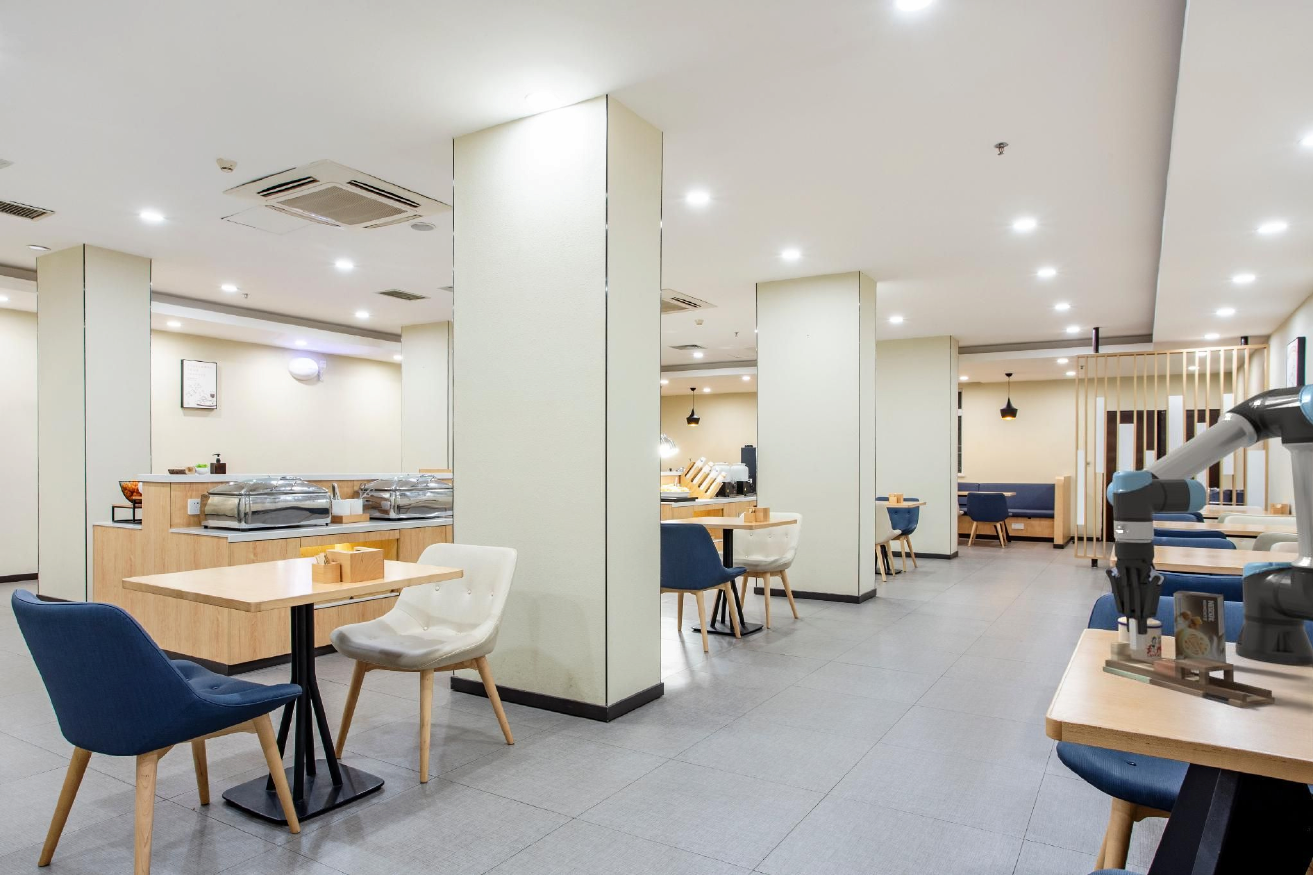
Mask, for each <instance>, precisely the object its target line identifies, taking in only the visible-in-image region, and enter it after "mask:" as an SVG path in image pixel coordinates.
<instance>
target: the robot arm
mask: <svg viewBox="0 0 1313 875" xmlns="http://www.w3.org/2000/svg"><path fill="white" fill-rule="evenodd" d="M1275 438H1276V439H1277V438H1281V439H1280V441H1281V446H1282V447H1284V448H1285V449H1286V450H1288V451H1289V452H1290V458H1291V459H1290V461H1291V471H1292V472H1291V473H1292V484H1293V485H1292V486H1293V497H1294V512H1295V524H1296V536H1297V548H1298V555H1297V558H1295V559H1293V561H1258V562H1256V561H1255V562H1254V561H1253V562H1247V563H1246V564H1244V565H1243V568H1242V577H1241V584H1242V585H1241V586H1242V606H1243V611H1242V612H1243V622H1242V626H1241V629H1240V632H1239V634H1238V636H1237V639H1236V641H1235V646H1234V647H1235V649H1234V650H1235V654H1236V655H1238V656H1240V657H1244V658H1248V659H1251V660H1257V661H1262V662H1267V663H1268V662H1269V663H1277V664H1287V665H1311V664H1313V646H1312V644H1311V642H1310V641H1311V640H1310V639H1309V637H1308V634H1307V632H1306V629H1305V628H1306V627H1305V621H1306V622H1307V621H1308V622H1312V623H1313V383H1311V384H1304V385H1296V386H1290V387H1283V388H1282V387H1281V388H1271V389H1268V390H1265V391H1262V392H1260V393H1258V394H1256V395H1252V396H1251V397H1249V398H1247V399H1245V400H1244V401H1242V402H1241V403H1239V404H1237V405H1236V406H1234V407H1232V408H1231V409H1229V410H1227V411H1225V412H1224V413H1222V414H1221V415H1220V416H1219V417H1218V419H1217V423H1215V424H1213V425H1211V426H1210V427H1209V428H1206V429H1205V430H1203V431H1202V432H1201V433H1199V434H1197V435H1196V436H1194V437H1192V438H1191V439H1189V440H1188V441H1186V442H1184V443H1183V444H1181V445H1180V446H1178V447H1177V448H1175V449H1173V450H1172V451H1170V452H1169V453H1167V454H1166V455H1164V456H1162V457H1161V458H1159V459H1158V460H1156V461H1155V462H1153V463H1152V464H1149V465H1148V466H1146V467H1145V468H1143V469H1141V470H1118V471H1115V472H1113V475H1112V482H1110V483H1109V485H1108V486H1107V489H1106V498H1107V501H1108V502H1109V504H1110V505H1112V507H1113V508H1112V509H1113V510H1112V511H1113V537H1114V539H1116V540H1115V542H1114V547H1113V548H1114V557H1116V562H1115V564H1114V567H1112V568H1109V569H1106V570H1105V574H1106V576H1107V577H1108V579H1109V583H1110V586H1111V590H1112V595H1113V599H1114V603H1115V607H1116V612H1117V613H1118V614H1122V615H1123V616H1124V617H1126V622H1127V632H1130V649H1135V650H1140V649H1145V634H1147V620H1148V619H1149V618H1152V619H1154V618H1156V617H1157V613H1158V609H1159V603H1160V599H1161V598H1160V597H1161V593H1162V589H1163V588H1162V587H1163V585H1164V584H1165V582H1166V581H1167V576H1166V575H1164V574H1160V573H1159V572H1158V571H1156V567H1155V565H1154V558H1155V543H1154V542H1153V541H1152V540H1154V539H1155V530H1154V528H1155V527H1154V514H1189V513H1198V512H1200V511H1202V510H1203V509H1204V508H1205V506H1206V503H1207V500H1208V498H1207V490H1206V487H1205V486H1204V485H1203V484H1202V482H1200V481H1198V480H1197V479H1193V478H1194V477H1196V476H1197V475H1199V474H1200V473H1202V472H1204V471H1206V470H1207V469H1209V468H1210V467H1212V466H1213V465H1215V464H1217V463H1218V462H1220V461H1222V459H1225V458H1226V457H1228V456H1229V455H1231V454H1233V453H1234V452H1236V451H1238V450H1239V449H1241V448H1250V447H1252V446H1254V445H1256V444H1257V443H1260V442H1261V441H1262V442H1263V441H1265V440H1270V439H1275Z"/></svg>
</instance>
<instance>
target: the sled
mask: <svg viewBox="0 0 1313 875" xmlns="http://www.w3.org/2000/svg"><path fill="white" fill-rule="evenodd" d="M1110 660H1113V661H1117V662H1121V663H1125V664H1129V665H1133V666H1137V667H1141V668H1145V669H1149V670H1153V671H1157V672H1161V673H1165V674H1169V675H1173V676H1175V660H1170V659H1162V660H1159V661H1154V665H1150V664H1146V663H1141V662H1137V661H1133V660H1132V659H1131V649H1130V642H1125V641H1124V642H1119V641H1114V642H1113V641H1112V642H1110ZM1191 671H1192V669H1188V668H1185V679H1190V680H1194V681H1198V682H1199V676H1195V675H1191Z"/></svg>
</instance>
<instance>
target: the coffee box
mask: <svg viewBox="0 0 1313 875" xmlns="http://www.w3.org/2000/svg"><path fill="white" fill-rule="evenodd" d="M1173 615H1174V616H1173V619H1174V620H1173V622H1174V625H1173V626H1174V646H1175V647H1174V652H1175V655H1174V656H1175V660H1185V659H1195V658H1207V659H1212V660H1216V661H1221V662H1225V663H1227V655H1226V654H1227V653H1226V652H1227V651H1226V650H1227V648H1226V622H1225V620H1226V619H1225V595H1224V594H1218V593H1208V592H1200V591H1199V592H1198V591H1188V590H1178V591H1175V592H1174V593H1173ZM1175 660H1174V661H1175Z"/></svg>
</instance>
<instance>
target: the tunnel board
mask: <svg viewBox="0 0 1313 875" xmlns="http://www.w3.org/2000/svg"><path fill="white" fill-rule="evenodd" d="M1131 659H1132V660H1133V661H1137V662H1141V663H1146V664H1150V665H1154V662H1150V661H1146V660H1142V659H1138V658H1133V657H1131ZM1104 660H1105V662H1104V664H1105V665H1103V666H1102V672H1105V673H1108V672H1109V674H1113V675H1117V676H1120V677H1123V676H1124V678H1127V679H1131V680H1134V679H1136V681H1138V682H1142V681H1143V682H1142V683H1147V684H1150V685H1153V686H1157V687H1161V688H1164V689H1169V690H1172V691H1175V692H1180V693H1183V694H1187V695H1191V696H1195V697H1199V698H1202V699H1206V700H1209V701H1212V702H1213V701H1214V702H1217V703H1220V704H1225V705H1228V706H1231V707H1236V708H1246V707H1254V706H1262V705H1263V704H1264V705H1270V704H1275V702H1276V698H1275V697H1274V696H1273V690H1271V689H1267V688H1262V687H1259V686H1254V685H1249V684H1246V683H1242V682H1238V681H1235V677H1234V672H1235V669H1234V664H1233V663H1230V662H1226V663H1225V662H1221V661H1216V660H1212V659H1207V658H1195V659H1185V660H1174V661H1175V676H1173V675H1169V674H1165V673H1161V672H1157V671H1153V670H1149V669H1145V668H1141V667H1137V666H1133V665H1129V664H1125V663H1121V662H1117V661H1113V660H1111V659H1104ZM1185 668H1188V669H1191V675H1195V676H1199V682H1198V681H1194V680H1190V679H1185ZM1193 670H1194V671H1193ZM1195 671H1196V672H1195ZM1220 671H1221V672H1222V674H1223V678H1220V677H1216V676H1212V675H1210V673H1211V672H1220ZM1264 705H1263V706H1264Z"/></svg>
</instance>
